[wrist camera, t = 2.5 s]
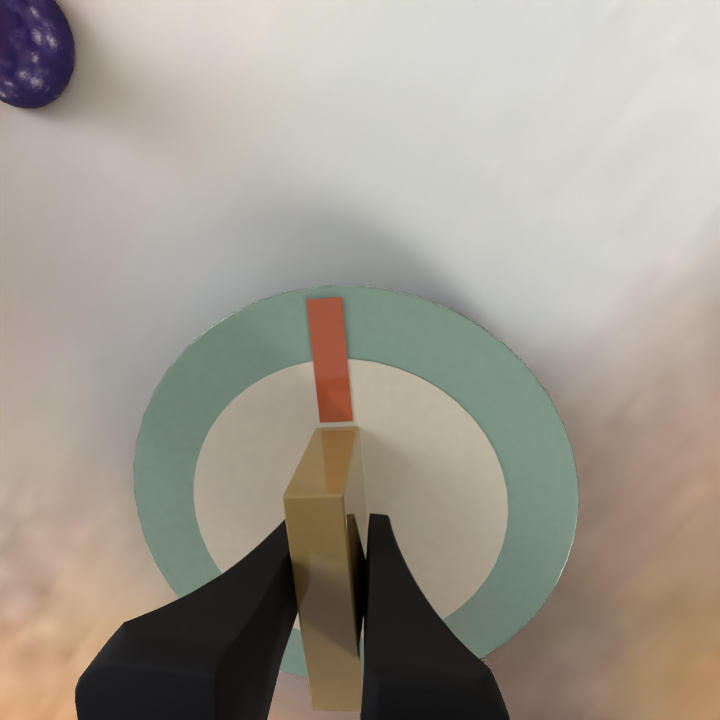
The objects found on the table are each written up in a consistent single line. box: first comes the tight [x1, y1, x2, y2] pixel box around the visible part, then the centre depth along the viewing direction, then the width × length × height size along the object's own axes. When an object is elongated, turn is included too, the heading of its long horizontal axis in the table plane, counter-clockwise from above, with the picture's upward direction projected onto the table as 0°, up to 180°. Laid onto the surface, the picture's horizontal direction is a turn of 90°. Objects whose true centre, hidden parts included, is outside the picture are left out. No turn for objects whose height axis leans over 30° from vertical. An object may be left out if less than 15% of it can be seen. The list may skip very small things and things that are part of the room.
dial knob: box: [134, 285, 579, 712], centre depth 13 cm, size 17×17×5 cm
